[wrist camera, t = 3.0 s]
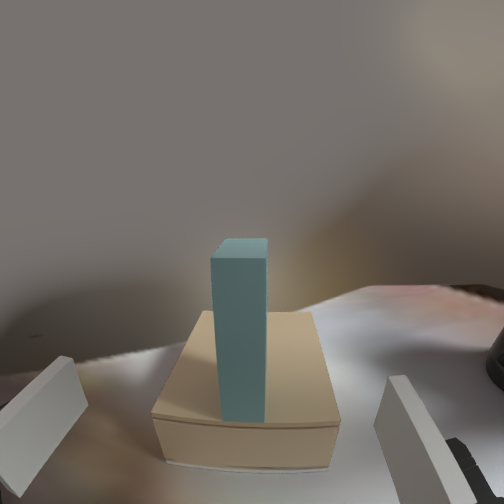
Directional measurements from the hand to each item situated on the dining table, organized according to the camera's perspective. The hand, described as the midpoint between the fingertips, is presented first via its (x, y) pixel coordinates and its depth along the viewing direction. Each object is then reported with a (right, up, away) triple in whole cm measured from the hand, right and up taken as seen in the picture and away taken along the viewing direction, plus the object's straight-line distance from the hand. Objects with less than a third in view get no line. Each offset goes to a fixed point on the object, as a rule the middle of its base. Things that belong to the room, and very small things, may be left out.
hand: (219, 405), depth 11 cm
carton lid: (+1, -4, +18) cm, 19 cm away
